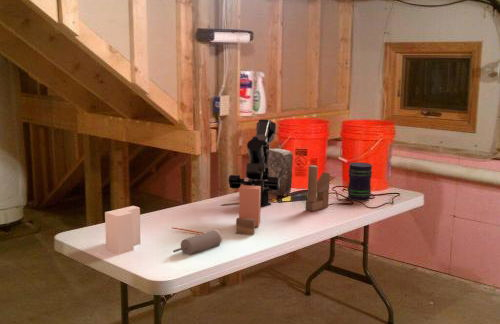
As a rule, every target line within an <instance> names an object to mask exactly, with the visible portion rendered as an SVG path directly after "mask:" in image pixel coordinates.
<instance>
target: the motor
mask: <svg viewBox="0 0 500 324" xmlns="http://www.w3.org/2000/svg"><path fill="white" fill-rule="evenodd" d="M172 229H174V230H176V232H177V233H179V231H182V233H185V234H188V232H189V234H192V235H194V236H190V237H187V238H184V239H182V241H181V242H180V247H179V248H176V249H174V250H172V251H173V253H176V252H179V251H182V253H183V254H185V255H188V256H190V255H193V254H195V253H200V252H201V251H202V252H203V251H205V250H207V249H211V248H213V247H216V246H217V247H218V246H220V244H222V241H223V236H222V234H221V232H220V231H219V230H218V229H213V230H210V231H206V232H203V231H197V230H192V229H184V228H178V227H172ZM177 230H179V231H177Z"/></svg>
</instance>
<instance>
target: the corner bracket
mask: <svg viewBox="0 0 500 324" xmlns="http://www.w3.org/2000/svg"><path fill="white" fill-rule="evenodd" d="M104 220H105V221H104V223H105V226H104V227H105V249H106V251H108V252H111V253H114V254H116V255H122V254H126V253H129V252H133V251H134V246H138V245H141V208H140V207H138V206H135V205H131V206H126V207H122V208H118V209H113V210H109V211H104Z"/></svg>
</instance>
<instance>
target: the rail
mask: <svg viewBox="0 0 500 324" xmlns="http://www.w3.org/2000/svg"><path fill="white" fill-rule="evenodd" d="M235 226H236V227H235V234H237V235H249V236H250V235H251V236H254V234H255V231H256V230H255V229H256V227H255V219H253V218H239V217H237V218H236V220H235Z"/></svg>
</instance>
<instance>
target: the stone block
mask: <svg viewBox="0 0 500 324" xmlns="http://www.w3.org/2000/svg"><path fill="white" fill-rule="evenodd" d="M293 163H294V156H293V152H292V151H291V150H288V149H283V148H270V149H269V156H268V164H267V167H268V170H269V175H270V176H274V177H278V178H279V190H271V191H268V194H273V195H276V196H278V195H284V194H289V193H290V194H291V191H292V183H293V180H292V179H293V166H294V164H293Z"/></svg>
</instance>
